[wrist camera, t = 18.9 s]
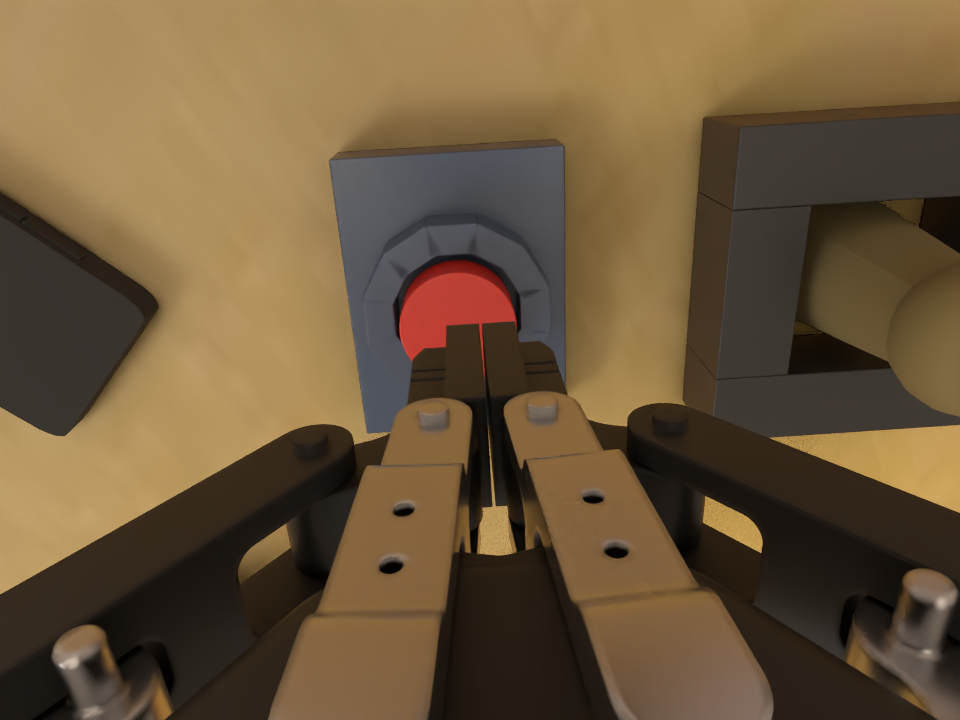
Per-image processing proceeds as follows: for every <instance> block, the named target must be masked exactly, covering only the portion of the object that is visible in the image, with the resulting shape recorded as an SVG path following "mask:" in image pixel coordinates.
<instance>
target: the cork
mask: <svg viewBox="0 0 960 720" xmlns="http://www.w3.org/2000/svg"><path fill="white" fill-rule="evenodd" d="M810 206H811V212H810V219H809V226H808V234H807V241H806V248H805V255H804V262H803V269H802V276H801V283H800V290H799V297H798V304H797V311H796V320H798V321H800V322H802V323H804V324H806V325H809V326H811V327H813V328H815V329H817V330H820V331H822V332H824V333H826V334H828V335H831V336H833V337H835V338H837V339H839V340H842V341H844V342H846V343H848V344H850V345H853V346H855V347H857V348H859V349H861V350H864V351H866V352H868V353H870V354H872V355H875V356H877V357H879V358H881V359H883V360H886V361H888V362H889V365H890V366H891V368H892V369H893V371H894V372H895V374H896V376H897V377H898V379H899V380H900V382H901V383H902V385H903V386H904V388H905V389H906V390H907V391H908V392H909V393H911V394H912V395H913V396H914V397H916V398H917V399H919V400H920V401H922V402H923V403H925V404H926V405H928V406H929V407H931V408H932V409H934V410H937V411H940V412H943V413H946V414H950V415H955V416H960V254H959V253H958V252H956V251H955V250H953V249H952V248H950V247H949V246H947V245H945V244H944V243H942V242H941V241H939V240H938V239H936V238H935V237H933V236H931V235H930V234H928V233H927V232H925V231H924V230H922V229H921V228H919V227H918V226H916V225H914V224H913V223H911V222H910V221H908V220H907V219H905V218H904V217H902V216H900V215H899V214H897V213H896V212H894V211H893V210H891V209H890V208H888V207H886V206H885V205H883V204H882V203H880V202H879V201H873V202H857V203H841V204H825V205H810Z"/></svg>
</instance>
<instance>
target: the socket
mask: <svg viewBox="0 0 960 720" xmlns="http://www.w3.org/2000/svg"><path fill="white" fill-rule="evenodd" d="M698 191H699V192H698V197H697V210H696V224H695V237H694V251H693V264H692V278H691V291H690V305H689V319H688V332H687V347H686V361H685V374H684V388H683V401H684V402H685V404H686V405H687V406H688V407H690V408H693V409H696V410H699V411H701V412H704V413H706V414H709V415H711V416H714V417H716V418H719V419H721V420H724V421H727V422H729V423H732V424H734V425H737V426H739V427H742V428H744V429H747V430H749V431H752V432H755V433H757V434H760V435H762V436H765V437H767V438H770V437H785V436H800V435H815V434H830V433H845V432H859V431H874V430H889V429H904V428H919V427H934V426H949V425H960V416H955V415H950V414H946V413H943V412H940V411H937V410H934V409H932V408H931V407H929V406H928V405H926V404H925V403H923V402H922V401H920V400H919V399H917V398H916V397H914V396H913V395H912V394H911V393H909V392H908V391H907V390H906V389H905V388H904V386H903V385H902V383H901V382H900V380H899V379H898V377H897V376H896V374H895V372H894V371H893V369H892V368H891V366H890V365H889V362H888V361H886V360H883V359H881V358H879V357H877V356H875V355H872V354H870V353H868V352H866V351H864V350H861V349H859V348H857V347H855V346H853V345H850V344H848V343H846V342H844V341H842V340H839V339H837V338H835V337H833V336H831V335H828V334H823V335H808V336H793V333H794V326H795V319H796V311H797V304H798V297H799V290H800V283H801V276H802V269H803V262H804V255H805V248H806V241H807V234H808V226H809V219H810V212H811V206H810V205H825V204H841V203H857V202H873V201H889V200H905V199H921V198H926V201H925V206H924V211H923V215H922V220H921V225H920V228H921V229H922V230H924V231H925V232H927V233H928V234H930V235H931V236H933V237H935V238H936V239H938V240H939V241H941V242H942V243H944V244H945V245H947V246H949V247H950V248H952V249H953V250H955V251H956V252H958V253H959V254H960V102H947V103H931V104H914V105H898V106H881V107H865V108H848V109H832V110H815V111H799V112H782V113H766V114H749V115H733V116H716V117H705V118H704V119H703V131H702V145H701V158H700V172H699V185H698Z"/></svg>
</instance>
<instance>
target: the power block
mask: <svg viewBox="0 0 960 720" xmlns="http://www.w3.org/2000/svg"><path fill="white" fill-rule="evenodd" d="M329 164H330V171H331V178H332V186H333V193H334V200H335V207H336V214H337V222H338V229H339V236H340V243H341V250H342V258H343V265H344V272H345V279H346V286H347V294H348V301H349V308H350V315H351V322H352V330H353V337H354V344H355V351H356V358H357V366H358V373H359V380H360V387H361V394H362V402H363V409H364V416H365V423H366V430H367V433H382V432H391V430H392V426H393V423H394V420H395V417H396V415H397V413H398V412H399V411H400V410H401V409H402V408H404V407H405V406H407V402H408V394H409V386H410V378H411V373H412V371H411V370H412V362H413V361H412V360H411V359H410V358H409V356H408V355H407V353H406V351H405V349H404V347H403V345H402V342H401V338H400V331H399V323H400V316H401V311H402V305H403V301H404V297H405V294H406V292H407V290H408V288H409V286H410V284H411V283H412V282H413V280H414V279H415V278H416V277H417V276H418V275H419V274H420V273H421V272H423V271H424V270H425V269H427V268H429V267H431V266H432V265H435V264H437V263H440V262H444V261H449V260H467V261H472V262H476V263H478V264H481V265H483V266H485V267H487V268H488V269H490V270H491V271H493V272H494V273H495V274H496V275H497V276H498V277H499V278H500V279H501V280H502V281H503V283H504V284H505V286H506V287H507V289H508V291H509V293H510V296H511V300H512V304H513V308H514V312H515V316H516V322H517V334H518V338H519V342H530V341H541V342H542V343H544V344H545V345H547V346H548V347H549V348H551V349H552V350H553V352H554V355H555V358H556V362H557V364H558V367H559V371H560V373H561V376H562V379H563V382H564V385H565V147H564V145H563V144H561V143H560V142H559V141H558V140H557V139H548V140H531V141H515V142H498V143H482V144H466V145H449V146H433V147H416V148H400V149H383V150H367V151H350V152H338V153H337V154H336V155H334V156H333V157H332V158H331V159H330V160H329ZM484 380H485V376H484ZM487 421H488V418H487Z"/></svg>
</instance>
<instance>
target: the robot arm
mask: <svg viewBox="0 0 960 720" xmlns="http://www.w3.org/2000/svg"><path fill="white" fill-rule="evenodd" d="M482 337H483V355H484V369H483V359H482V349H481V338H480V328H479V323H478V324H462V325H447V326H446V347H438V348H424V349H423V350H422V351H421V352H420V353H418V354H417V355H416V356H415V357H414V358H413V362H412V370H411V371H412V373H411V378H410V386H409V394H408V402H407V406H405V407H404V408H402V409H401V410H400V411H399V412H398V413H397V415H396V417H395V420H394V423H393V426H392V430H391V433H390V434H388V435H386V436H383V437H381V438H378V439H375V440H371V441H368V442H363V443H359V444H355V445H354V442H353V437H352V434H351V433H350V432H349V431H348V430H346V429H345V428H343V427H340V426H336V425H328V424H319V425H310V426H305V427H301V428H298V429H295V430H293V431H290V432H288V433H286V434H284V435H282V436H281V437H279V438H277V439H275V440H274V441H272V442H270V443H268V444H267V445H265V446H263V447H261V448H259V449H258V450H256V451H254V452H252V453H251V454H249V455H247V456H245V457H243V458H242V459H240V460H238V461H236V462H235V463H233V464H231V465H229V466H228V467H226V468H224V469H222V470H220V471H219V472H217V473H215V474H213V475H212V476H210V477H208V478H206V479H204V480H203V481H201V482H199V483H197V484H196V485H194V486H192V487H190V488H189V489H187V490H185V491H183V492H181V493H180V494H178V495H176V496H174V497H173V498H171V499H169V500H167V501H165V502H164V503H162V504H160V505H158V506H157V507H155V508H153V509H151V510H150V511H148V512H146V513H144V514H142V515H141V516H139V517H137V518H135V519H134V520H132V521H130V522H128V523H126V524H125V525H123V526H121V527H119V528H118V529H116V530H114V531H112V532H111V533H109V534H107V535H105V536H103V537H102V538H100V539H98V540H96V541H95V542H93V543H91V544H89V545H87V546H86V547H84V548H82V549H80V550H79V551H77V552H75V553H73V554H72V555H70V556H68V557H66V558H64V559H63V560H61V561H59V562H57V563H56V564H54V565H52V566H50V567H48V568H47V569H45V570H43V571H41V572H40V573H38V574H36V575H34V576H33V577H31V578H29V579H27V580H25V581H24V582H22V583H20V584H18V585H17V586H15V587H13V588H11V589H9V590H8V591H6V592H4V593H2V594H1V595H0V720H960V513H958V512H956V511H953V510H950V509H948V508H945V507H943V506H940V505H938V504H935V503H933V502H930V501H928V500H925V499H922V498H920V497H917V496H915V495H912V494H910V493H907V492H905V491H902V490H900V489H897V488H894V487H892V486H889V485H887V484H884V483H882V482H879V481H877V480H874V479H872V478H869V477H866V476H864V475H861V474H859V473H856V472H854V471H851V470H849V469H846V468H844V467H841V466H838V465H836V464H833V463H831V462H828V461H826V460H823V459H821V458H818V457H816V456H813V455H810V454H808V453H805V452H803V451H800V450H798V449H795V448H793V447H790V446H788V445H785V444H783V443H780V442H777V441H775V440H772V439H770V438H767V437H765V436H762V435H760V434H757V433H755V432H752V431H749V430H747V429H744V428H742V427H739V426H737V425H734V424H732V423H729V422H727V421H724V420H721V419H719V418H716V417H714V416H711V415H709V414H706V413H704V412H701V411H699V410H696V409H693V408H690V407H688V406H684V405H679V404H671V403H656V404H649V405H645V406H642V407H639V408H637V409H635V410H634V411H632V412H631V413H630V415H629V417H628V421H627V427H624V426H615V425H607V424H602V423H597V422H594V421H591V420H588V419H587V417H586V415H585V413H584V412H583V410H582V408H581V406H580V404H579V403H578V402H577V401H576V400H575V399H573V398H572V397H570V396H568V395H567V392H566V388H565V385H564V382H563V379H562V376H561V373H560V371H559V367H558V364H557V362H556V358H555V355H554V352H553V350H552V349H551V348H549V347H548V346H547V345H545V344H544V343H542V342H541V341H530V342H519V338H518V334H517V329H516V325H515V321H508V322H492V323H482ZM484 372H485V380H484ZM487 418H488V421H487ZM488 429H489V439H490V450H491V460H492V471H493V481H494V492H495V502H496V506H507V507H508V521H509V538H510V542H511V546H512V551H513V553H512V554H508V555H502V556H495V555H485V554H480V542H481V537H480V522H481V520H482V516H483V511H482V507H492V492H491V474H490V456H489V439H488ZM705 496H707V497H709V498H711V499H713V500H715V501H717V502H719V503H721V504H723V505H725V506H727V507H729V508H732V509H734V510H736V511H738V512H740V513H742V514H744V515H745V516H747V517H748V518H750V519H751V520H752V521H753V522H754V523H755V525H756V526H757V527H758V529H759V531H760V533H761V536H762V540H763V546H762V553H759V552H758V551H756V550H754V549H752V548H750V547H748V546H746V545H744V544H742V543H740V542H738V541H736V540H735V539H733V538H731V537H729V536H727V535H725V534H723V533H721V532H719V531H717V530H715V529H714V528H712V527H710V526H708V525H706V524H704V523H703V515H704V505H705ZM284 524H286V525H287V530H288V535H289V540H290V544H291V548H290V549H289V550H287V551H286V552H285V553H283V554H282V555H280V556H279V557H278V558H276V559H275V560H273V561H272V562H271V563H269V564H268V565H266V566H265V567H264V568H262V569H261V570H260V571H258V572H257V573H255V574H254V575H253V576H251V577H250V578H248V579H247V580H246V581H244V582H243V583H241V584H239V580H238V568H239V565H240V562H241V560H242V558H243V556H244V555H245V554H246V552H247V551H248V550H249V549H250V548H251V547H252V546H254V545H255V544H256V543H258V542H259V541H261V540H262V539H264V538H265V537H267V536H268V535H270V534H271V533H273V532H274V531H276V530H277V529H278V528H280V527H281V526H283V525H284Z"/></svg>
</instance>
